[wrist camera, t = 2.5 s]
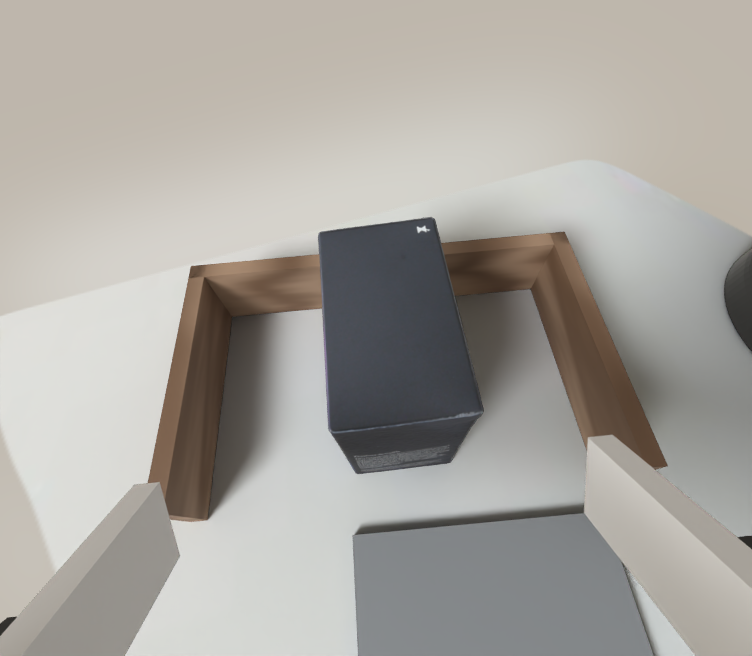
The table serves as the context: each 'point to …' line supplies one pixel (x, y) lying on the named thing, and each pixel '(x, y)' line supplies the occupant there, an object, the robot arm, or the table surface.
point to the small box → (394, 347)
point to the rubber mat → (495, 591)
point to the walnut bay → (303, 292)
